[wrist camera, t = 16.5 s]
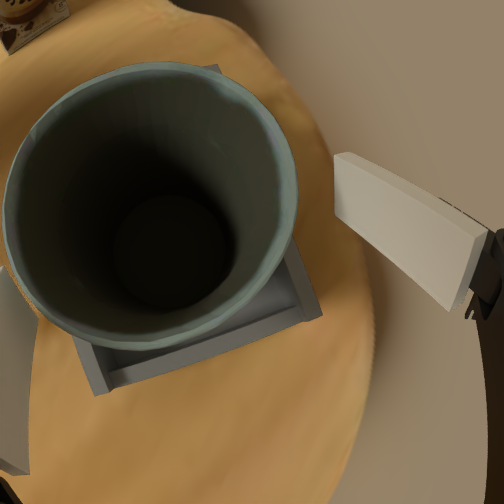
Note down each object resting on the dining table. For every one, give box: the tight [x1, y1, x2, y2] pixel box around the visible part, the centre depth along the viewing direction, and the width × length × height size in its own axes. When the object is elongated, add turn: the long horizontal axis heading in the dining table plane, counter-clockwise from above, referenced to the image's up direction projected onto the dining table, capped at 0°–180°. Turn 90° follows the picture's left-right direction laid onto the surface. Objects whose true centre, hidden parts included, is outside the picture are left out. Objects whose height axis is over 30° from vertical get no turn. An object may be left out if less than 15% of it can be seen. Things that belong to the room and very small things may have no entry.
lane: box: [36, 64, 323, 396], centre depth 18 cm, size 16×14×7 cm
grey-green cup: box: [2, 62, 298, 351], centre depth 15 cm, size 10×10×12 cm
